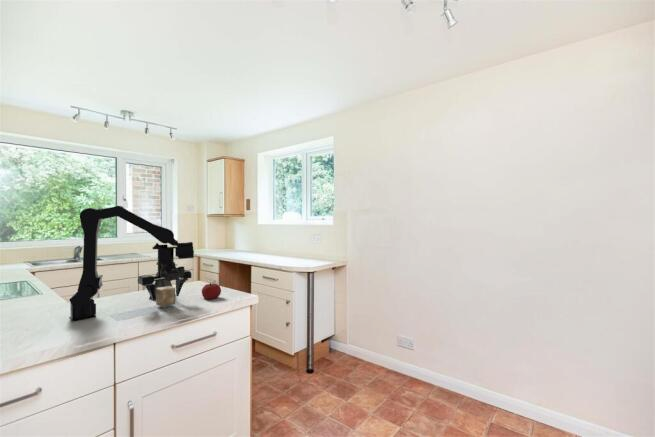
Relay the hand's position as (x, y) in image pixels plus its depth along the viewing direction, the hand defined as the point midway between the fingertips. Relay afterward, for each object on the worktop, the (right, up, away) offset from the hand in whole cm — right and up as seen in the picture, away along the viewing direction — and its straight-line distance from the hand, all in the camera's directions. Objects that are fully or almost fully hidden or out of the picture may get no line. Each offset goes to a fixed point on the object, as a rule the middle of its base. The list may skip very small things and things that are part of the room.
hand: (165, 298), depth 123 cm
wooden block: (0, -2, 0) cm, 2 cm away
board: (-4, -4, -5) cm, 7 cm away
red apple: (+13, -4, +14) cm, 19 cm away
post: (0, -3, 0) cm, 3 cm away
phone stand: (-9, -4, +14) cm, 17 cm away
